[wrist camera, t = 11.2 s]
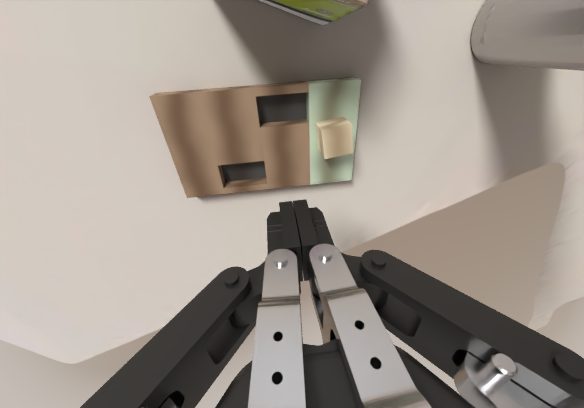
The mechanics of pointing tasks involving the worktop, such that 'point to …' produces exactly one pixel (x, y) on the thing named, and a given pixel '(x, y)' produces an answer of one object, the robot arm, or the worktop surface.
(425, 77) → the worktop surface
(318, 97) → the board
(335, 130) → the block
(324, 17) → the tea box
